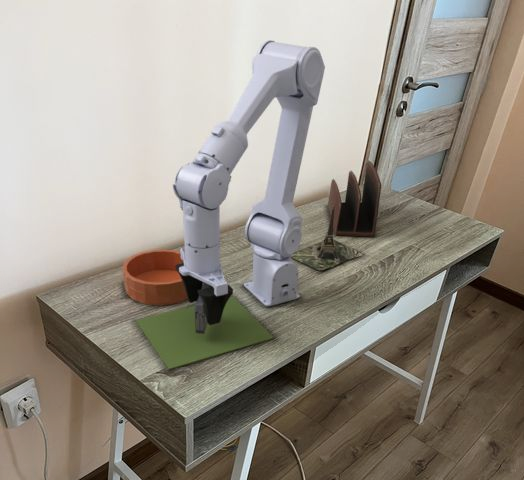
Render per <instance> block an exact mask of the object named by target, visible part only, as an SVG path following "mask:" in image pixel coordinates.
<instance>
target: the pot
mask: <svg viewBox="0 0 524 480" xmlns="http://www.w3.org/2000/svg"><path fill="white" fill-rule="evenodd" d="M182 262H184V261H183V260H182V259H181V254H180V250H173V249H151V250H146V251H142V252H139V253H136V254H134V255H132V256H131V257H129V258H128V259H126V260H125V261H124V263H123V265H122V276H123V284H124V290H125V293H126V294H127V296H128V297H129V298H131V299H132V300H133V301H136V302H138V303H140V304H145V305H151V306H168V305H169V306H170V305H174V304H179V303H182V302H184V301H186V300H188V297H187V294H186V291H185V287H184V284H183V281H182V279H181V277H180V275H179V273H178V271H177V270H176V268H175V265H177V264H180V263H182Z"/></svg>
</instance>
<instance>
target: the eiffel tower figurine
mask: <svg viewBox="0 0 524 480" xmlns="http://www.w3.org/2000/svg"><path fill="white" fill-rule="evenodd" d="M334 209H335V206H334V205H333V206H332V213H331V216H330V218H329V224H328V229H327V232H325V233H326V234H325V236H324V239H323V240H322V239H321V241H320V242H318V243H316V244H312V245H310V246H307V247H305V248H302V249H299V250H296V251H295V252H294V253H293V254H292V255H291V259H294V260H296V261H299V262H300V263H302V264H304V265H307V266H308V267H311V268H313V269H315V270H318V271H324V270H326V269H330V268H333V267H335V266H337V265H339V264H342V263H343V262H346V261H348V260H349V261H350V260H352V259H355V258H358V257H361V256H364V254H363V253H361V252H358V251H356V250H355V249H353V248H351V247H349V246H347V245H345V244H343V243H341V242H339V241H338V240H336V239H334V236H335V234H334V228H333V219H334Z"/></svg>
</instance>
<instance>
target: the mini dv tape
mask: <svg viewBox="0 0 524 480" xmlns="http://www.w3.org/2000/svg"><path fill="white" fill-rule="evenodd" d="M205 288H209V285H208V284H206V283H204V282H203V286H202V289H205ZM195 305H196V306H195V330H196V333H199V334H205V330H206V327H207V324H208V322H207V320H206V314H205V308H204V304H203V301H202V299H201V297H200V295H199V297H198V300H197V301H196V302H195Z"/></svg>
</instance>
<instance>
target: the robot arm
mask: <svg viewBox="0 0 524 480" xmlns="http://www.w3.org/2000/svg"><path fill="white" fill-rule="evenodd" d="M325 69H326V66H325V63H324V60H323V56H322V53H321V51H320V50H319V49H318V48H317V47H315V46H302V45H297V44H291V43H290V44H289V43H284V42H277V41H275V40H271V39H267V40H266V41H263V43H262V44H261V45H260V46H259V48H258V50H257V53H256V54H255V56H254V57H253V58H252V63H251V71H252V75H251V77H250V78H249V81H248V83H247V85H246V87H245V88H244V90H243V92H242V94H241V96H240V98H239V99H238V101H237V103H236V105H235V107H234V109H233V111H232V113H231V115H230V116H229V118H228V120H226V121H220V122H218V123H216V124H215V126H214V127H213V128H212V130H211V131H210V134H209V136H208V137H207V138H206V140H205V142H204V143H203V144H202V146H201V148H200V149H199V151H198V152H197V154H196V155H195V157H194V158H193V160H192V161H191V162H188V163H187V164H184V165H183V166H181V167H179V169H178V171H177V173H176V174H175V178H174V183H173V184H172V190H173V193H174V196H176V198H177V199H178V202H179V209H181V211H182V220H183V240H184V241H183V243H184V247H182V248H180V249H179V252H180V254H181V259H182V260H183V261H184V262H182V263H180V264H177V265H175V268H176V270H177V271H178V273H179V275H180V277H181V279H182V281H183V284H184V287H185V291H186V294H187V297H188V299H187V300H188V302H189V303H190V304H192V303H197V300H198V297H199V295H200V297H201V299H202V301H203V304H204V308H205V314H206V320H207V322H208V324H209V325H213V324H216V323H220V320H221V317H222V313H223V310H224V307H225V305H226V303H227V301H228V299H229V298H230V297H231V296H233V294H234V289H233V287H232V286H231V285H230V284H229V283H228V282H227V281H226V279H225V276H224V271H223V267H222V264H221V238H220V237H221V235H220V234H221V223H220V221H221V218H220V217H221V215H220V214H221V212H220V209H221V205H222V204H223V203H224V201H225V200H226V199H227V196H228V192H229V187H230V183H231V182H232V175H231V174H232V173H233V171H234V170H235V168H236V166H237V165H238V163H239V162H240V160H241V158H242V157H243V155H244V154H245V152H246V150H247V149H248V148H249V141H248V134H249V132H250V131H251V129H252V128H253V127H254V126H255V124H256V123H257V121H258V120H259V119H260V117H261V116H262V115H263V114H264V112H265V111H266V110H267V108H268V107H269V106H270V104H272V102H273V101H274V99H277V101H278V103H279V106H280V108H281V111H280V116H279V121H278V122H279V123H278V127H277V132H276V137H275V142H274V146H273V147H274V148H273V152H272V157H271V163H270V169H269V174H268V178H267V184H266V189H265V195H264V199H261V200H260V201H258V202H256V203H255V204H253V205H252V207H251V212H250V215H249V218H248V219H247V221H246V223H245V227H244V235H245V239H246V241H247V242H248V243H250V249H251V250H253V254H252V255H253V256H252V280H251V281H249V282H244V283H243V286H244V287H245V289H247V291H249V292H250V293H251V294H252V295H253V296H254V297H255V298H256V299H257V300H258V301H259V302H260V303H261V304H262V305H264V306H265V307H266V308H267V307H272V306H276V305H279V304H283V303H286V302H290V301H294V300H297V299H300V298H301V297H300V294H298V293H297V292H298V282H299V269H298V267H297V264H295V262H294V261H293V258H292V257H291V255H292V254H293V253H295V252H297V251H298V249H299V247H300V245H301V242H302V224H303V216H302V215H301V213H300V212H299V211H298V209H297V208H296V207H295V205H294V203H293V202H294V198H295V193H296V189H297V184H298V179H299V175H300V170H301V166H302V161H303V156H304V152H305V148H306V147H305V146H306V142H307V137H308V133H309V128H310V124H311V120H312V114H313V109H314V107H315V106H316V105H317V104H318V101H319V97H320V93H321V87H322V83H323V79H324V74H325ZM204 283H206V284H208V285H209V288H205V289H202V287H203V284H204Z"/></svg>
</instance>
